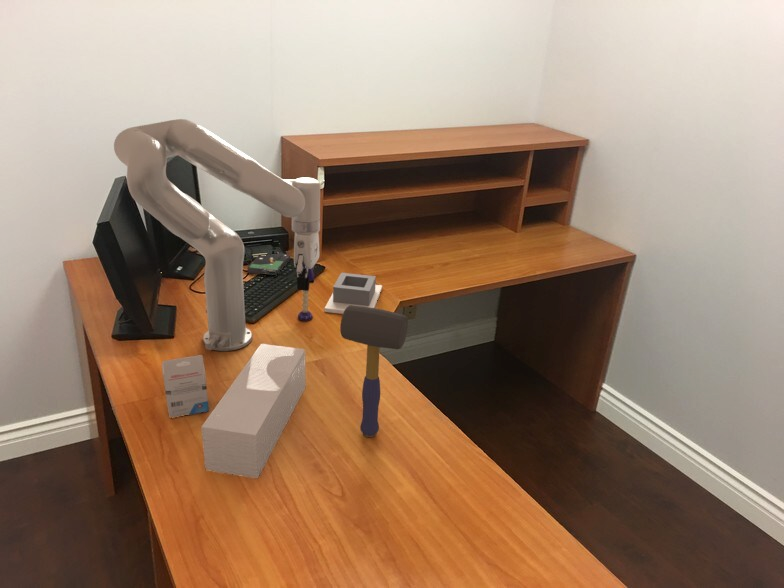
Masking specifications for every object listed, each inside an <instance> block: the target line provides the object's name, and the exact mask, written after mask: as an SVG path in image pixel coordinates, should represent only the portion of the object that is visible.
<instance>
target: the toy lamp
mask: <svg viewBox="0 0 784 588" xmlns="http://www.w3.org/2000/svg"><path fill="white" fill-rule="evenodd" d="M303 266H305V265H304V264H303ZM313 270H314V269H313V268H311V269H309V268H308V277H309V281H312V280H314V281H315V271H314V272H313ZM303 271H305V269H303ZM309 292H310V289H309V290H308V291H304V290H302V309H301V311H299V313H298V314H297V318H298V320H300V321H303V322H307V321H311V320H312V319H313V314H312V312H311V311H309V302H310V301H309V300H310V299H309V296H310V294H309Z"/></svg>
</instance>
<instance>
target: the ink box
mask: <svg viewBox="0 0 784 588" xmlns="http://www.w3.org/2000/svg"><path fill="white" fill-rule="evenodd" d="M162 361H163V362H161V367H162V368H161V369H162V379H163V384H164V385H163V386H164V391H165V398H166V399H165V400H166V404H167V405H166V406H167V407H166V408H167V411H168V417H169V419H170V418H171V417H177V416H182V415H188V416H191V415H190V414H193V415H196V414H195V413H198V414H202V413H201V412H203V413H207V411H208V412H210V409H209V397H208V387H207V379H206V370H205V365H204V364H205V363H204V357H203V355H202V354H198V355H194V356H186V357H179V358H175V359H168V360H162ZM177 418H178V417H177Z"/></svg>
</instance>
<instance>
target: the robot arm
mask: <svg viewBox="0 0 784 588" xmlns="http://www.w3.org/2000/svg"><path fill="white" fill-rule="evenodd" d="M113 150H114V153H115V156H116V158H117V159H118V160H119V161H120V162H121V163H123V164H124V165H125V166H126V167H127V169H126V170H127V172H126V184H127V187H128V191H129V194H130V196H131V197H132V199H133V200H134V201H135V203H137V204H138V205H139V206H140V207H141V208H142V209H144V210H145V211H146V212H147V213H149V214H150V215H151V216H152V217H154V219H156V220H157V221H159V222H160V223H161V225H163V226H164V227H165V228H166V230H168V231H169V232H171V233H172V235H173V234H174V236H177V237H179V238H180V239H182V240H183V241H184V242H186V243H187V244H189V245H190V246H191V247H193V248H194V249H195V250H196V251H197V252H199V254H201V255H202V256H203V257H204V259H205V267H204V272H203V273H204V275H203V276H204V277H203V278H204V289H205V290H204V292H205V293H204V294H205V302H206V304H205V305H206V314H207V315H206V316H207V325H208V326H207V327H208V330H207V331H206V332H205V333H204V334H203V338H202V339H203V344H204V348H205V349H206V350H208V351H211V350H213V351H220V352H228V351H232V352H233V351H235V350H236V351H237V350H239V349H243V348H244V347H246V346H248V345H249V344H250V343H251V342H252V339H253V333H252V331H251V329H249V328H247V327H246V310H245V293H244V275H243V273H244V272H243V269H244V260H245V245H244V242H243V240H242V238H241V237H240V235H239V234H238V233H237V232H236V231H235V230H233V229H232V228H230V227H229V226H228V225H226V224H225V223H223V222H222V221H220V220H219V219H218V218H217V217H215V216H214V215H213V214H211V213H210V212H209V211H208V210H207V209H205V208H204V207H203V206H202V204H201V203H199V201H197V200H196V199H195V198H193V197H191V196H190V195H188V194H187V193H184V192H183V191H181V190H180V189H179V188H178V186H176V185H175V184H174V183H173V182H171V181H170V180H169V178H168V177H167V161H168V160H167V159H168V158H174V157H177V156H178V157H180V158H182V159H183V160H185V161H186V162H188V163H190V164H192V165H193V166H194V167H196V168H198V169H199V170H202V171H204V172H205V173H206V174H209V175H210V176H212V177H213V178H215V179H217V180H219V181H220V182H222V183H224V184H226V185H228V186H229V187H231V188H233V189H234V190H236V191H238V192H239V193H242V194H245V195H247V196H249V197H251V198H253V199H254V200H257V201H258V202H260V203H261V204H264V205H265V206H266V207H268V208H270V209H272V211H275V212H277V213H278V214H280V215H282V216H284V217H285V218H291V231H292V232H293V233H294V237H293V239H294V241H293V265H294V268H296V279H297V281H296V282H297V284H296V285H297V290H298V291H303V290H304V291H308V290H309V291H310V284H314V282H315V279H314V280H312V281H309V277H308V268H309V269H311V268H313V272H314V273H315V265H316V263H317V262H318V260H319V259H320V235H319V232H320V231H321V183H320V182H319V180H317V179H315V178H314V177H308V176H307V177H298V178H296V179H294V178H293V179H285V178H284V179H283V178H281V177H279V176H278V175H276V174H275V173H274V172H272V171H271V170H269V169H267V168H266V167H264V166H263V165H261V164H260V163H259V162H257V161H256V160H255V159H254V158H252V157H250V156H249V155H247V154H246V153H244V152H243V151H241V150H239V149H238V148H237V147H235V146H233V145H231V144H230V143H229V142H227V141H225V140H224V139H222V138H221V137H219V136H218V135H216V134H215V133H213V132H211V131H210V130H208V129H206V128H205V127H203V126H202V125H199V124H197V123H195V122H193V121H191V120H189V119H186V118H185V119H184V118H183V119H182V118H180V119H172V120H165V121H160V122H154V123H149V124H141V125H138V126H133V127H128V128H126V129H124V130H121V132H119V133H118V134H117V136H116V137H115V138H114V142H113ZM303 264H304V265H305V266H303ZM303 269H305V271H303Z"/></svg>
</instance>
